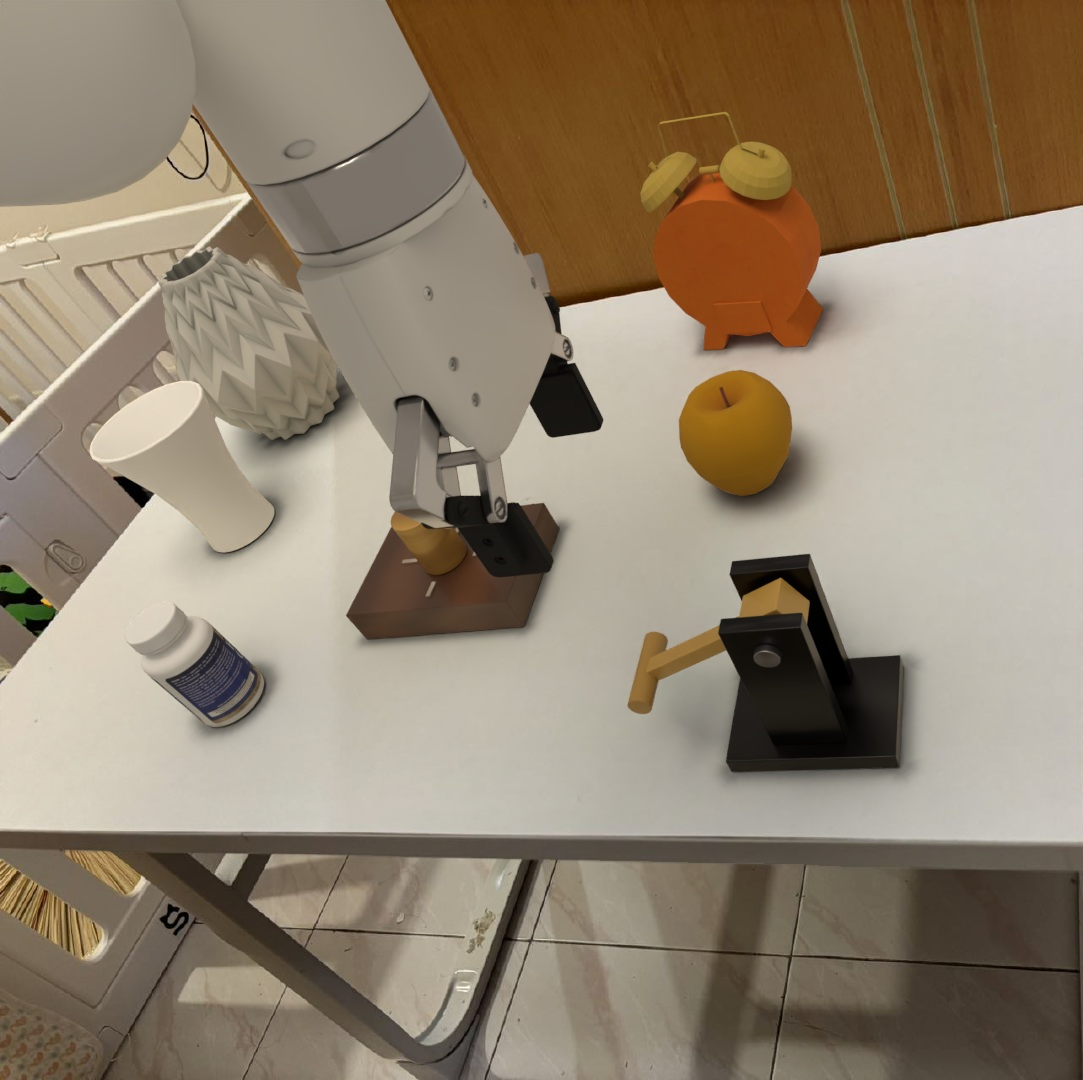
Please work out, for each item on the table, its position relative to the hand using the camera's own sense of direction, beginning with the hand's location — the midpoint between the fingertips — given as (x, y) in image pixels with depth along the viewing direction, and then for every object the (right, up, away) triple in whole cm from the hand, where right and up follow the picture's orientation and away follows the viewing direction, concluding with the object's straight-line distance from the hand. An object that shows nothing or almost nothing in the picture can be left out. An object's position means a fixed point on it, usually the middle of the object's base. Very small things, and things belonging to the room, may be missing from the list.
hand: (552, 496), depth 50 cm
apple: (+11, +2, +28) cm, 30 cm away
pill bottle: (-29, -15, +29) cm, 44 cm away
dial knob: (-13, -3, +28) cm, 31 cm away
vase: (-36, +11, +58) cm, 69 cm away
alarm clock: (+12, +17, +42) cm, 47 cm away
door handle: (+9, -9, +7) cm, 14 cm away
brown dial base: (-12, -6, +30) cm, 33 cm away
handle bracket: (+14, -13, +11) cm, 22 cm away
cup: (-37, -1, +46) cm, 59 cm away
